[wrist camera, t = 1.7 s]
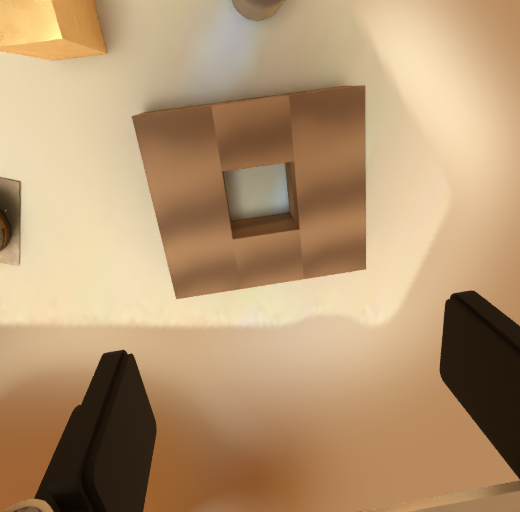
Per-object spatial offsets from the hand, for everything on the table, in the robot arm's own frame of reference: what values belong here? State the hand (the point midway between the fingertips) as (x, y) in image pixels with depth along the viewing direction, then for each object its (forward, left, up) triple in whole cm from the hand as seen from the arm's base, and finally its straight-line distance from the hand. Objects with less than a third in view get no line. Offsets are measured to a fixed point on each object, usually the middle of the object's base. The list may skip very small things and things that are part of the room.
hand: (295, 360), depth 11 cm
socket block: (+2, +1, -27) cm, 27 cm away
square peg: (-13, -12, -27) cm, 33 cm away
